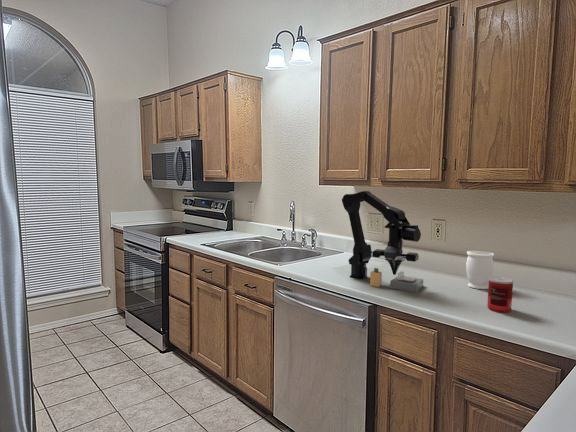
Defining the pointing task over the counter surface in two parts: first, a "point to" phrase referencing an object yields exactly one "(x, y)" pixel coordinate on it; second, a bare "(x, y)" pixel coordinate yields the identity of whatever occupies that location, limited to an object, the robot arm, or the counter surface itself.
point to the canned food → (500, 294)
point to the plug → (375, 278)
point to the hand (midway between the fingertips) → (394, 274)
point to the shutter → (405, 277)
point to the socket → (406, 284)
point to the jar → (479, 268)
